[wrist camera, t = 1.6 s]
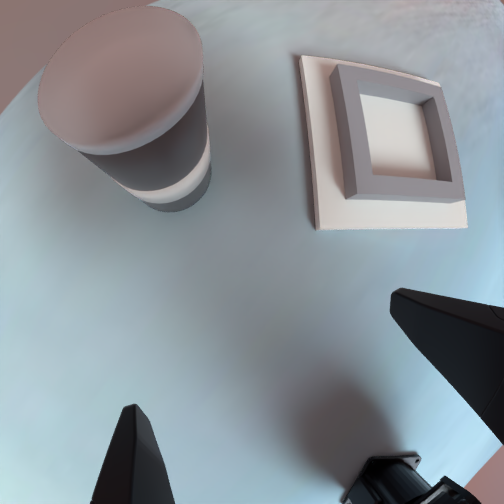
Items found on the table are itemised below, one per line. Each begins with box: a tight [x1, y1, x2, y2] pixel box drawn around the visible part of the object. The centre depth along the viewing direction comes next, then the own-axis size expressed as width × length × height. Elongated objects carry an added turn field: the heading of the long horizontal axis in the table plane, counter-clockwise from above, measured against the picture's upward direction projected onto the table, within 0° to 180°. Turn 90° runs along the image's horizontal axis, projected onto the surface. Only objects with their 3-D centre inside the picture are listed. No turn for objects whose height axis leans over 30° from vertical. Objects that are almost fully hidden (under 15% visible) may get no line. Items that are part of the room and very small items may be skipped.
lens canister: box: [38, 6, 211, 212], centre depth 14 cm, size 6×6×13 cm
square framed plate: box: [299, 55, 468, 230], centre depth 21 cm, size 14×14×3 cm
